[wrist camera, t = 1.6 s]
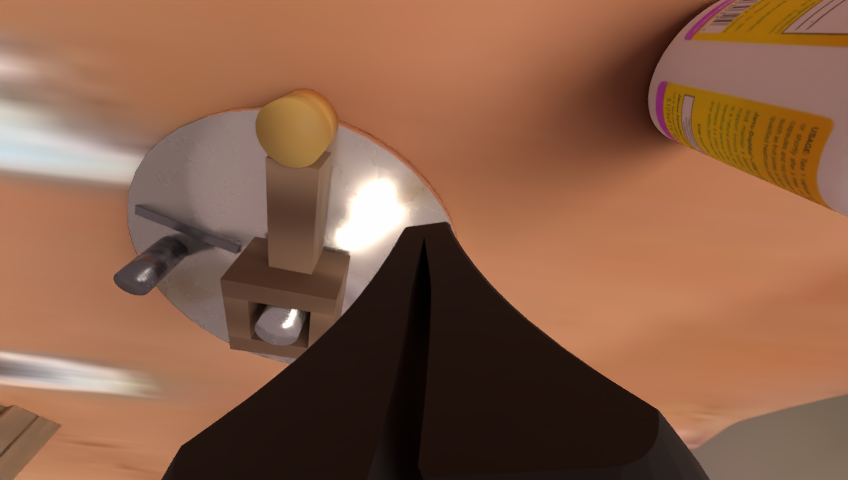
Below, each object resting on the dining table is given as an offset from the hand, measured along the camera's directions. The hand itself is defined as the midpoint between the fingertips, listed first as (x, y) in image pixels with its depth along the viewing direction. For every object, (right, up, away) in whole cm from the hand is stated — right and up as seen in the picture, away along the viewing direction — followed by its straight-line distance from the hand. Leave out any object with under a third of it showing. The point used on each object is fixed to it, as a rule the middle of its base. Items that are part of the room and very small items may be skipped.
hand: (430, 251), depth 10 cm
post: (-9, -2, +13) cm, 16 cm away
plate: (-9, -2, +13) cm, 16 cm away
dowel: (-17, 0, +12) cm, 20 cm away
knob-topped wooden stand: (-8, +1, +9) cm, 12 cm away
